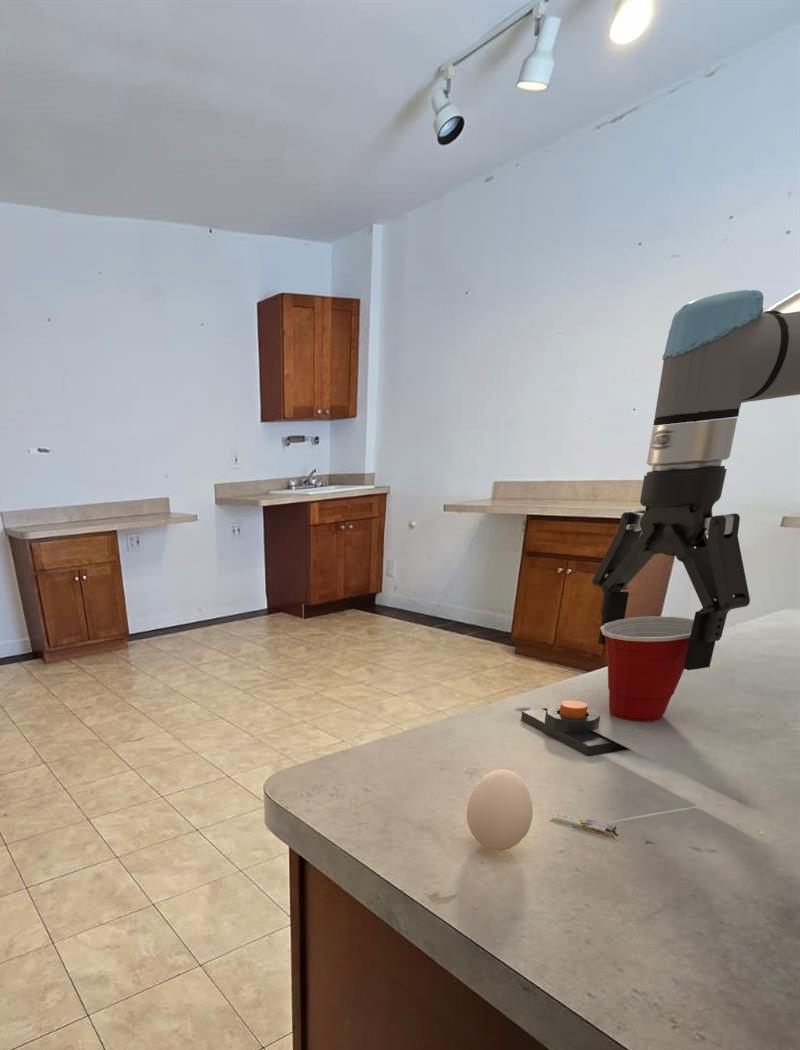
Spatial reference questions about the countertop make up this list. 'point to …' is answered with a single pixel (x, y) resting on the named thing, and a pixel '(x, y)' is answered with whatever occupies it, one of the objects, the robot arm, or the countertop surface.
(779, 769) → the countertop surface
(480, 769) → the countertop surface
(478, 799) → the egg
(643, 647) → the plastic cup
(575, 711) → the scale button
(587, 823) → the granola bar
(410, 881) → the countertop surface
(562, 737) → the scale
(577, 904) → the countertop surface
